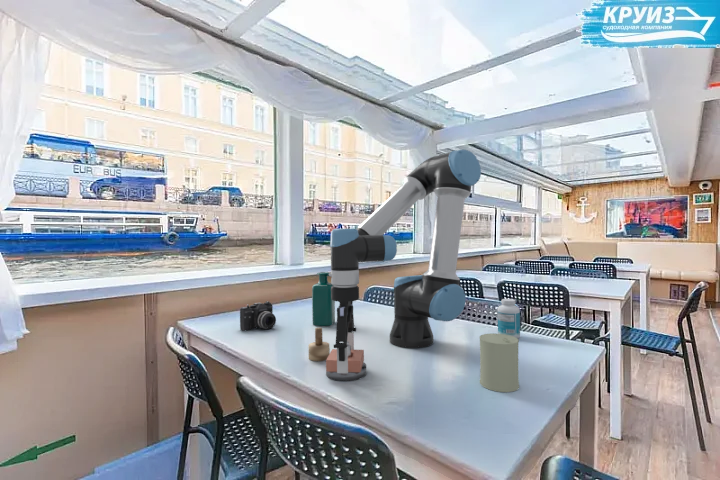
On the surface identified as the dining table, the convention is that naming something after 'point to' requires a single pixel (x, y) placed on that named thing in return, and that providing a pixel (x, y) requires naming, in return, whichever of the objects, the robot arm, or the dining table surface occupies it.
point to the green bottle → (322, 302)
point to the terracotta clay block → (353, 361)
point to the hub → (350, 375)
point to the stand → (318, 347)
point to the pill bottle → (509, 318)
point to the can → (499, 362)
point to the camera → (257, 316)
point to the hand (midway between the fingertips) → (346, 363)
